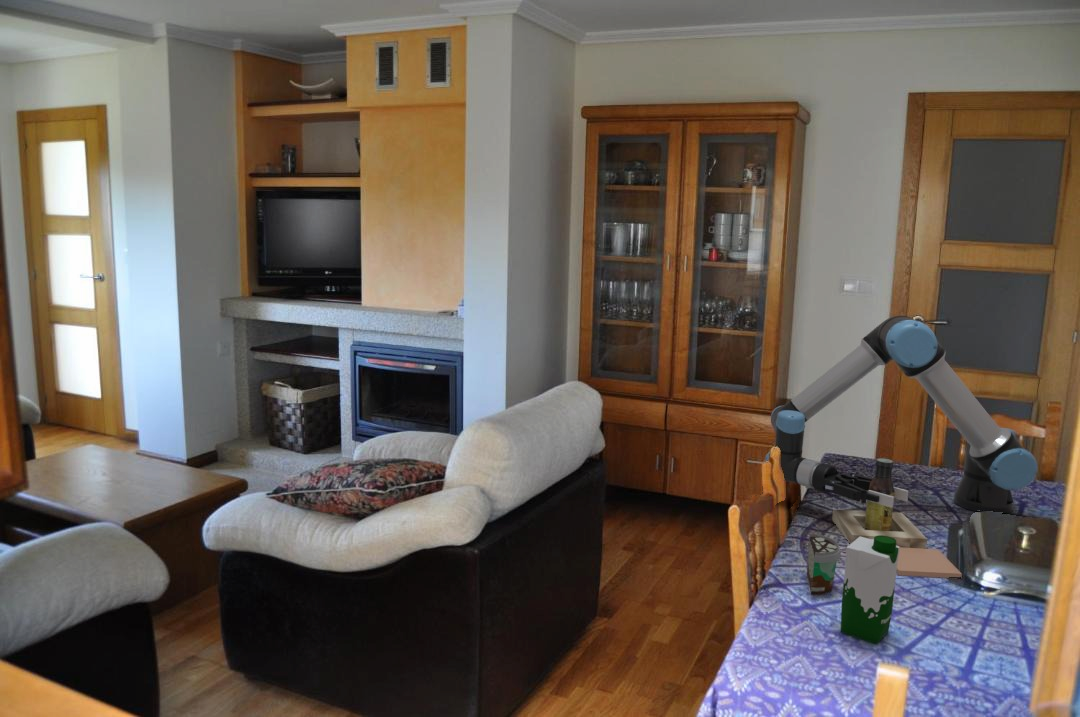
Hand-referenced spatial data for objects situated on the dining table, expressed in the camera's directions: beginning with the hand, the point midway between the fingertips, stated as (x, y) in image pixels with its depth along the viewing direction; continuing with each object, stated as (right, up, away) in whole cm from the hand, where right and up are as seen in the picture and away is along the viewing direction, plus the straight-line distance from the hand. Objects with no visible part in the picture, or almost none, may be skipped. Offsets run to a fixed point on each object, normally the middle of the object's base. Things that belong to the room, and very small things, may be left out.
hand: (900, 499), depth 214 cm
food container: (-28, -15, -25) cm, 41 cm away
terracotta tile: (-1, -13, -12) cm, 18 cm away
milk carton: (-26, -19, -45) cm, 55 cm away
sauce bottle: (-4, -10, +6) cm, 12 cm away
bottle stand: (-4, -10, +6) cm, 12 cm away
